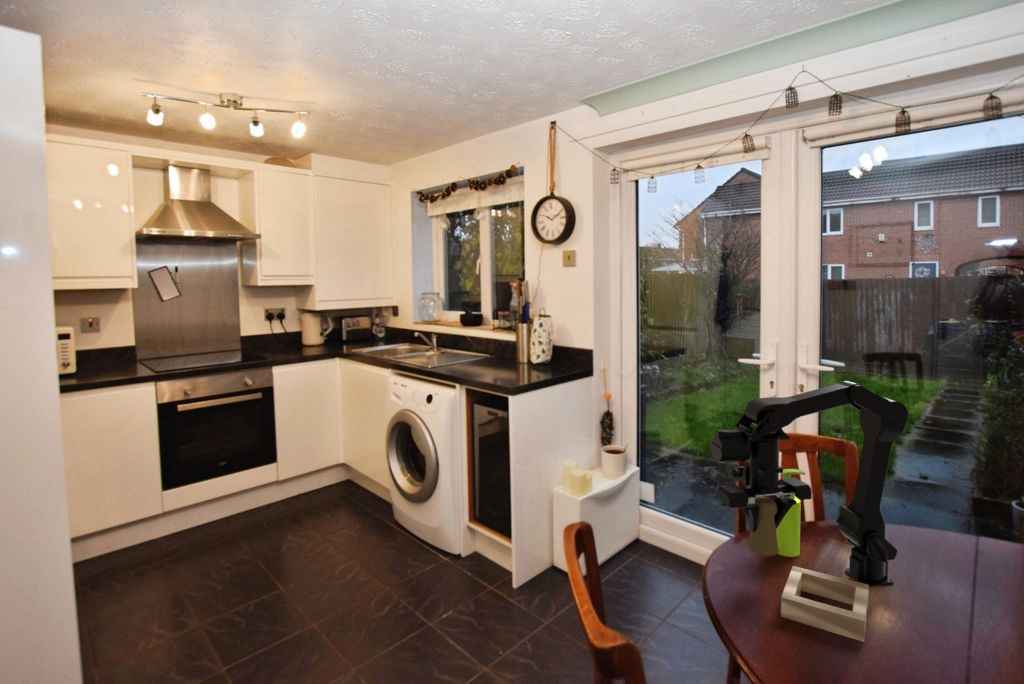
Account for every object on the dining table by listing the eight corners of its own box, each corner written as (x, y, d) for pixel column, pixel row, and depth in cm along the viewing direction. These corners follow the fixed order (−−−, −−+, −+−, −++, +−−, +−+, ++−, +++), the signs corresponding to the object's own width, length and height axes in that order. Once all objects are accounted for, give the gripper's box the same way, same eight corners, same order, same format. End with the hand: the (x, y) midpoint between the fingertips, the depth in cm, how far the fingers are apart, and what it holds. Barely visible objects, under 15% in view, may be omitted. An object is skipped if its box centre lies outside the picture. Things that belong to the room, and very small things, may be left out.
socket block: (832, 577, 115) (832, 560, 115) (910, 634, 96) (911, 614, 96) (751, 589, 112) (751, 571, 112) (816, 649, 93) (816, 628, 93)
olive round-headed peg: (782, 556, 110) (783, 505, 109) (751, 554, 111) (751, 504, 110) (774, 542, 116) (774, 494, 114) (744, 541, 117) (745, 493, 116)
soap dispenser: (809, 556, 124) (810, 474, 122) (779, 557, 124) (780, 475, 122) (796, 544, 130) (797, 465, 128) (767, 545, 130) (768, 466, 128)
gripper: (779, 444, 120) (778, 510, 122) (702, 452, 118) (703, 519, 119) (814, 460, 109) (813, 532, 111) (730, 469, 107) (730, 542, 108)
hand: (763, 530), depth 113 cm, fingers closed on olive round-headed peg, 4 cm apart
